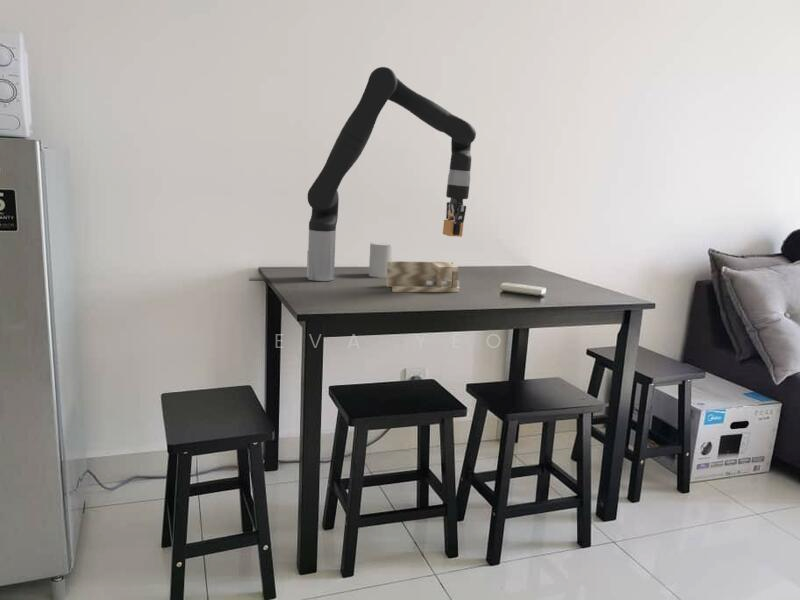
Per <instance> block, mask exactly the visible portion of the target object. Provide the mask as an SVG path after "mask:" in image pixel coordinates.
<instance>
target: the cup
mask: <svg viewBox="0 0 800 600" xmlns="http://www.w3.org/2000/svg"><path fill="white" fill-rule="evenodd" d="M392 257H393V243H392V242H391V243H390V242H387V241H385V242H384V241H372V242H370V246H369V265H368V276H369V277H371V278H380V279H381V278H382V279H383V278H386V279H387V263H388V261H393V260H392Z"/></svg>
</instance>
